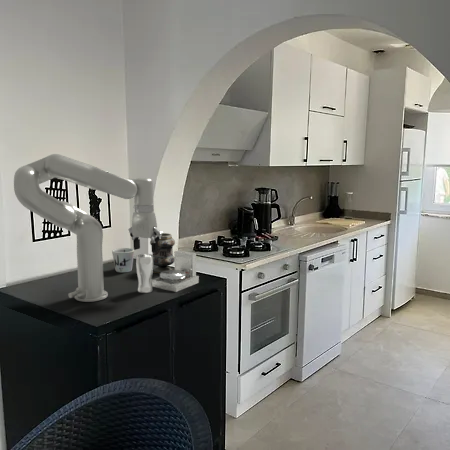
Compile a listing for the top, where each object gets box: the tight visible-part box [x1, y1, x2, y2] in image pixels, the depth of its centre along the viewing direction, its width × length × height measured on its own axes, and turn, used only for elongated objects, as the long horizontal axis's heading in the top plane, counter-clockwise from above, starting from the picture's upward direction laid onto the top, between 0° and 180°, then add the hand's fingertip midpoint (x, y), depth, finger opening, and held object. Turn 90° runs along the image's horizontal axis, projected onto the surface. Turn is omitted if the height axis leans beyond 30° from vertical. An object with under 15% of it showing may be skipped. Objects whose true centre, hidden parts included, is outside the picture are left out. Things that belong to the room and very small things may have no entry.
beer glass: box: [135, 253, 154, 294], centre depth 189 cm, size 7×7×15 cm
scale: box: [152, 250, 200, 293], centre depth 199 cm, size 16×13×13 cm
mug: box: [111, 247, 135, 273], centre depth 223 cm, size 10×15×10 cm
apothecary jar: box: [149, 232, 176, 274], centre depth 220 cm, size 12×12×18 cm
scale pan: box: [159, 269, 186, 280], centre depth 198 cm, size 12×11×1 cm
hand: (145, 250), depth 188 cm, fingers open, 9 cm apart
